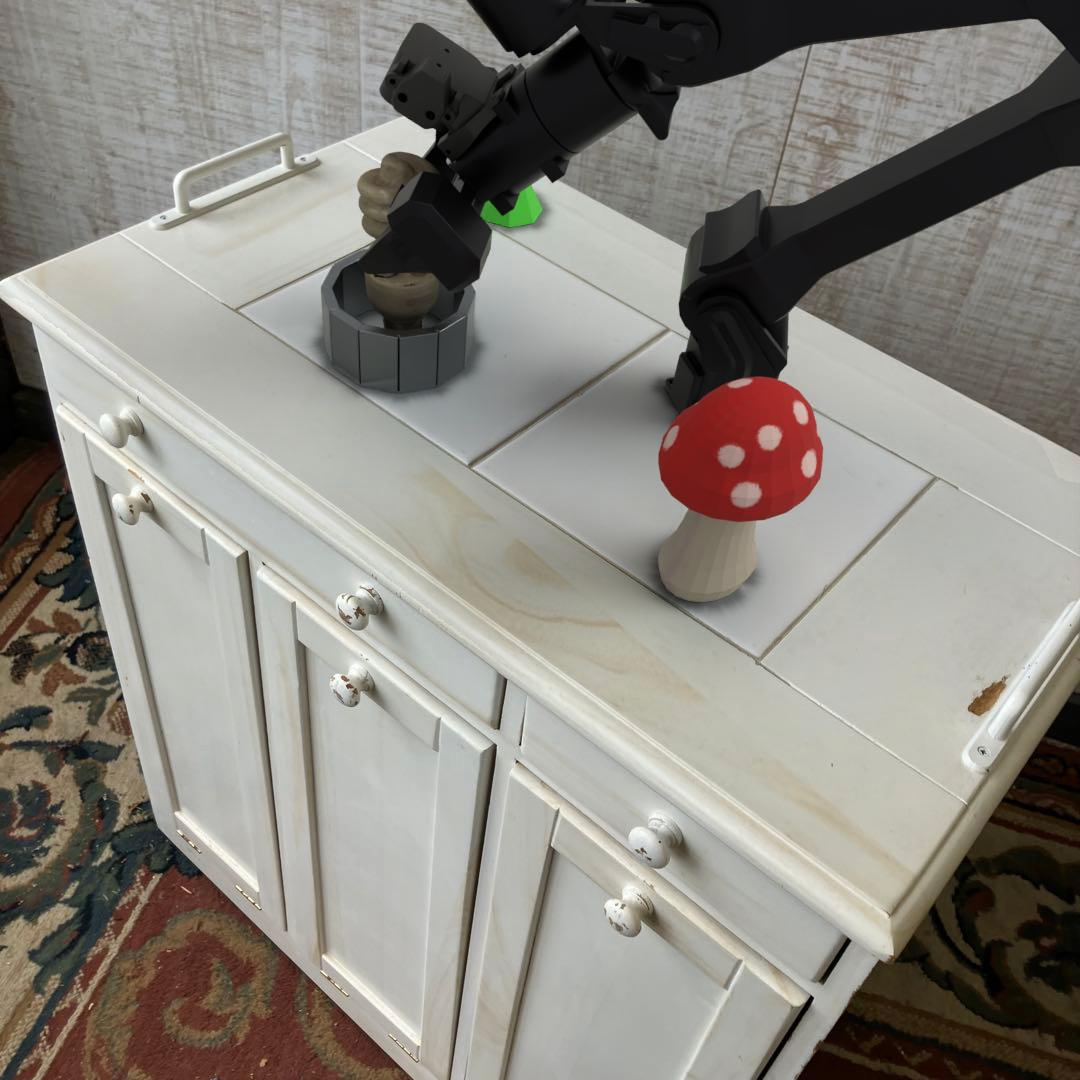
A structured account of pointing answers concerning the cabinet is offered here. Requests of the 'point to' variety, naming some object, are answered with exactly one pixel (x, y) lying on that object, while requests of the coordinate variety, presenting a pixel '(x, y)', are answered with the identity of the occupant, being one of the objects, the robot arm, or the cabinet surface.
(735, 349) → the robot arm
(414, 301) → the light bulb
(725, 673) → the cabinet surface
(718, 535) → the decorative mushroom
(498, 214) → the green faceted cone
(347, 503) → the cabinet surface
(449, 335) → the faceted gray ring
